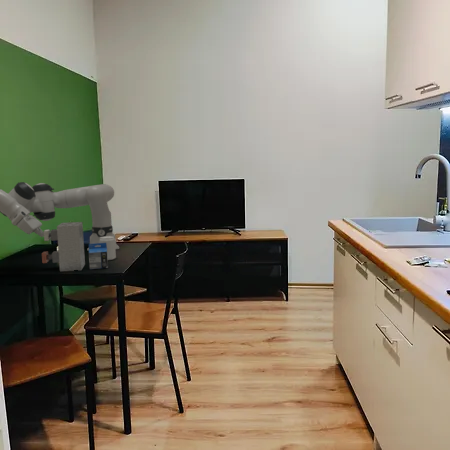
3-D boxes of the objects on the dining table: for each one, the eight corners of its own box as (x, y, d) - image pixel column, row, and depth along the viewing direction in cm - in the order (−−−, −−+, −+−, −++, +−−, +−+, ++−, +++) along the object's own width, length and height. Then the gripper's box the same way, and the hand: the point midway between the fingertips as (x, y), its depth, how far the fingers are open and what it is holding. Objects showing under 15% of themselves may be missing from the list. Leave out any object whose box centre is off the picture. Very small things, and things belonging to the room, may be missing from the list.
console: (56, 265, 238) (53, 223, 235) (85, 264, 240) (82, 221, 237) (51, 272, 224) (48, 226, 221) (81, 270, 227) (78, 225, 224)
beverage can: (100, 261, 247) (98, 238, 246) (101, 258, 255) (99, 236, 254) (115, 260, 249) (114, 238, 247) (116, 257, 257) (115, 235, 255)
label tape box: (89, 269, 228) (87, 245, 226) (89, 267, 232) (88, 243, 230) (107, 268, 230) (106, 243, 228) (108, 266, 234) (106, 242, 232)
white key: (46, 239, 231) (45, 229, 230) (58, 238, 232) (57, 229, 231) (44, 240, 226) (43, 231, 226) (56, 240, 227) (55, 230, 227)
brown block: (44, 261, 232) (43, 251, 232) (56, 260, 233) (55, 251, 233) (42, 263, 228) (41, 253, 227) (54, 262, 229) (53, 253, 228)
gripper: (22, 218, 236) (43, 237, 238) (10, 224, 216) (34, 243, 218) (30, 209, 236) (52, 228, 239) (20, 214, 216) (43, 234, 219)
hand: (43, 235), depth 228 cm, fingers closed, pressing on white key
